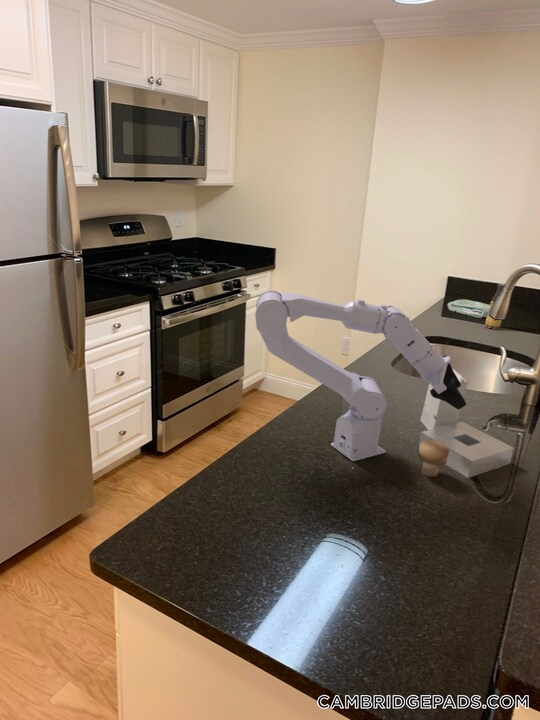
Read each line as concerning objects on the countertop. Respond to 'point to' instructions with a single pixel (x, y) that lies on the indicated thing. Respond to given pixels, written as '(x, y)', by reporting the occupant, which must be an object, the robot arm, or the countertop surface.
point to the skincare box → (441, 408)
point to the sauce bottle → (489, 321)
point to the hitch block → (470, 448)
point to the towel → (469, 308)
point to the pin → (432, 456)
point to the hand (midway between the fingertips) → (459, 396)
